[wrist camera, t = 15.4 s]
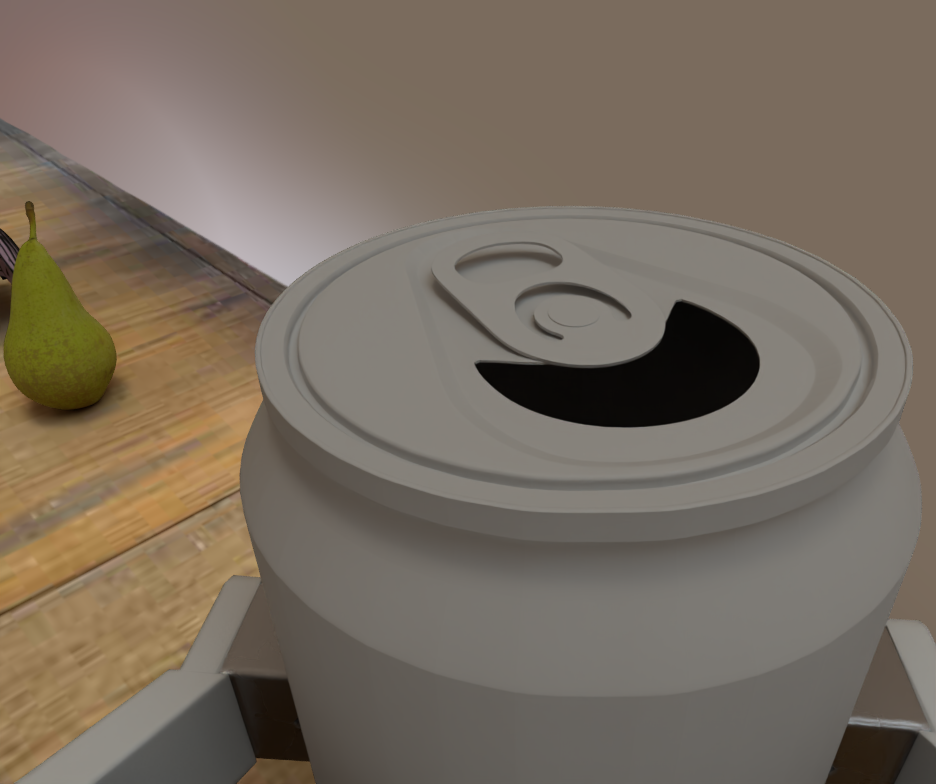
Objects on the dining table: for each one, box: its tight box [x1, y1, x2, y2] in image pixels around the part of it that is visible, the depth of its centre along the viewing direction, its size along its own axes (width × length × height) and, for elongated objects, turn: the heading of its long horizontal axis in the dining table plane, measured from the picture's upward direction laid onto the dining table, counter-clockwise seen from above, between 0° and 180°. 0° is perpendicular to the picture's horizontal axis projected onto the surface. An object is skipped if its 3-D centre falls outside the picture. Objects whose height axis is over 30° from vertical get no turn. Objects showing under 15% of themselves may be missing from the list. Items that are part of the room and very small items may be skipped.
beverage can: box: [240, 206, 922, 784], centre depth 10 cm, size 6×6×12 cm
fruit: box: [4, 201, 117, 410], centre depth 43 cm, size 6×6×12 cm
